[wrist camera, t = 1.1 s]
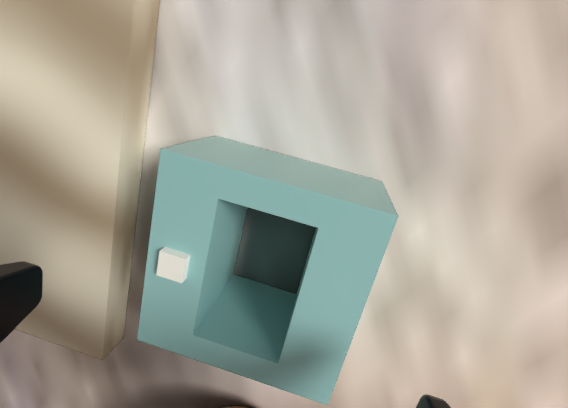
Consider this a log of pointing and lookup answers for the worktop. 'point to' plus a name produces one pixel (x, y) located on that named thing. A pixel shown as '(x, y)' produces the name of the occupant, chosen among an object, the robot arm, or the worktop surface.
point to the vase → (235, 407)
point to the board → (74, 157)
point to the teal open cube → (250, 294)
